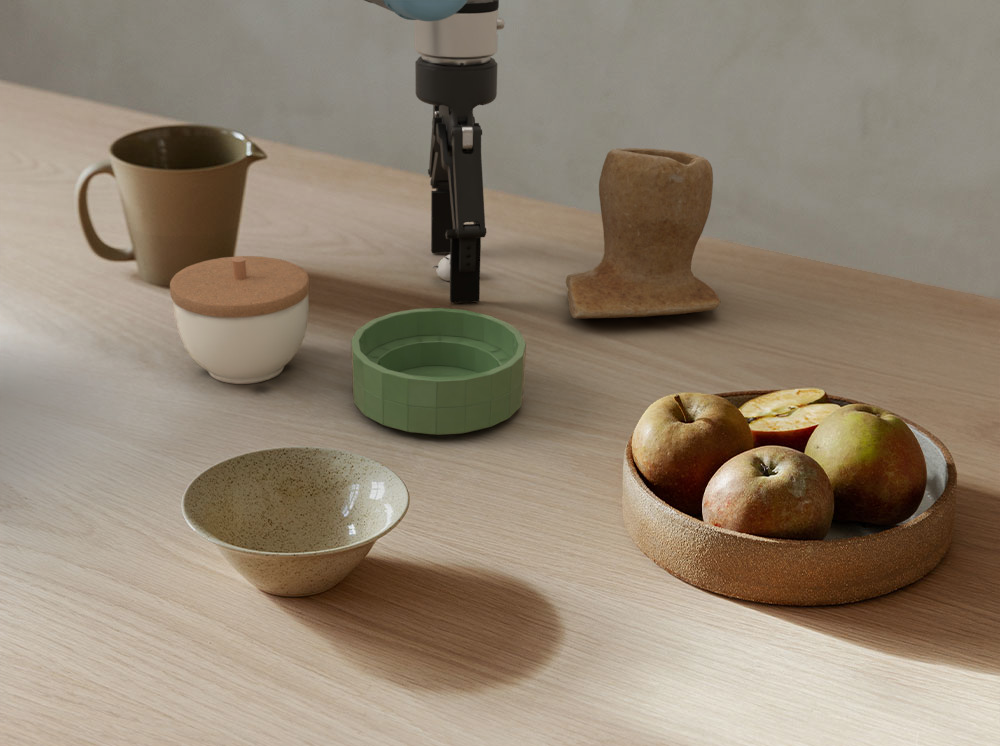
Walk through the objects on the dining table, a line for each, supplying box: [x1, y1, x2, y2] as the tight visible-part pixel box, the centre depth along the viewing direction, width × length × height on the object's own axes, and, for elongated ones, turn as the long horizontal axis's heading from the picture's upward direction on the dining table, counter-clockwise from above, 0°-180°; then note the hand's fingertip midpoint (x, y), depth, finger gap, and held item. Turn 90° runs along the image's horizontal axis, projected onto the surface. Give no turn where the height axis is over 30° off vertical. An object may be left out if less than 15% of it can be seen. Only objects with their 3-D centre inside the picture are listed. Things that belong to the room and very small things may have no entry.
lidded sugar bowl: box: [169, 255, 310, 385], centre depth 88 cm, size 11×11×9 cm
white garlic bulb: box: [432, 253, 450, 282], centre depth 110 cm, size 3×4×3 cm
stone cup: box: [565, 147, 721, 319], centre depth 102 cm, size 15×12×15 cm
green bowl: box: [350, 307, 527, 436], centre depth 85 cm, size 13×13×5 cm
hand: (453, 275), depth 110 cm, fingers open, 13 cm apart
